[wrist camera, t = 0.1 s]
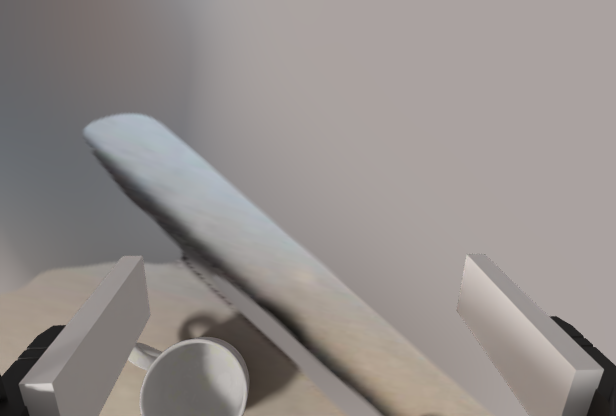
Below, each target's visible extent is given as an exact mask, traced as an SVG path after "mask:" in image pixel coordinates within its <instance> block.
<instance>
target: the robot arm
mask: <svg viewBox="0 0 616 416" xmlns="http://www.w3.org/2000/svg"><path fill="white" fill-rule="evenodd" d="M457 312H458V313H459V315H460V316H461V318H462V319H463V321H465V323H466V325H467V326H468V328H469V329H470V331H471V332H472V334H473V335H474V336H475V338H476V339H477V341H478V342H479V344H480V345H481V346H482V348H483V349H484V351H485V352H486V354H487V355H488V357H489V358H490V359H491V361H492V363H493V364H494V365H495V367H496V368H497V370H498V371H499V373H500V374H501V375H502V377H503V378H504V380H505V381H506V383H507V384H508V386H509V387H510V389H511V390H512V392H513V393H514V394H515V396H516V397H517V399H518V400H519V402H520V403H521V405H522V406H523V407H524V409H525V410H526V412H527V413H528V415H529V416H616V366H615V365H614V364H613V363H612V362H611V361H610V360H609V359H608V358H606V357H605V356H604V355H603V354H602V353H601V352H600V351H599V350H598V349H597V348H596V347H593V345H592V344H591V343H590V342H589V341H588V340H587V339H586V338H584V337H583V335H582V334H581V333H579V332H578V331H577V330H576V329H575V328H574V327H573V326H572V325H570V324H568V323H567V322H565V321H563V320H561V319H560V318H558V317H556V316H555V317H554V316H552V317H549V316H548V315H547V314H546V313H545V312H544V311H543V310H542V309H541V308H540V307H539V306H538V305H537V304H536V303H535V302H534V301H533V300H531V298H530V297H529V296H527V295H526V294H525V293H524V292H523V291H522V290H521V289H520V288H519V287H518V286H517V285H516V284H515V283H514V282H513V281H512V280H511V279H510V278H509V277H508V276H507V275H506V274H505V273H503V271H502V270H501V269H500V268H498V267H497V266H496V265H495V264H494V263H493V262H492V261H491V260H490V259H489V258H488V257H487V256H486V255H485V254H467V256H466V261H465V267H464V272H463V278H462V283H461V289H460V294H459V300H458V306H457ZM149 317H150V308H149V300H148V293H147V285H146V278H145V270H144V263H143V256H122V257H121V259H120V260H119V261H118V262H117V264H116V265H115V266H114V267H113V269H112V270H111V271H110V272H109V273H108V275H107V276H106V277H105V278H104V280H103V281H102V282H101V283H100V285H99V286H98V287H97V288H96V289H95V291H94V292H93V293H92V294H91V296H90V297H89V298H88V299H87V301H86V302H85V303H84V304H83V305H82V307H81V308H80V309H79V310H78V312H77V313H76V314H75V315H74V317H73V318H72V319H71V320H70V321H69V323H68V324H67V325H58V326H52V327H50V328H49V329H47V330H46V331H44V332H43V333H41V334H40V335H38V336H37V337H36V338H35V339H34V341H33V342H32V343H31V344H30V345H29V346H28V347H27V350H25V351H24V352H23V353H22V354H21V355H20V356H19V357H18V360H17V361H15V362H14V363H13V364H12V365H11V366H10V368H9V369H8V370H7V371H6V372H5V373H4V374H3V376H2V377H1V375H0V416H99V414H100V412H101V410H102V408H103V406H104V404H105V402H106V400H107V398H108V396H109V394H110V392H111V391H112V389H113V387H114V385H115V383H116V381H117V379H118V377H119V375H120V373H121V371H122V369H123V367H124V365H125V363H126V361H127V360H128V358H129V356H130V354H131V352H132V350H133V348H134V346H135V344H136V342H137V340H138V338H139V336H140V334H141V332H142V331H143V329H144V327H145V325H146V323H147V321H148V319H149Z"/></svg>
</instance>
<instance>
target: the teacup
mask: <svg viewBox="0 0 616 416" xmlns="http://www.w3.org/2000/svg"><path fill="white" fill-rule="evenodd" d="M128 360H129V361H130V362H131V363H133V364H134V365H136V366H137V367H139V368H141V369H144V370H147V373H146V375H145V378H144V381H143V384H142V387H141V392H140V412H141V416H243V414H244V411H245V408H246V404H247V398H248V393H249V373H248V369H247V366H246V363H245V361H244V359H243V357H242V356H241V354H240V353H239V352H238V351H237V350H236V349H235V348H234V347H233V346H232V345H231V344H229V343H227V342H226V341H224V340H221V339H218V338H214V337H198V338H193V339H189V340H184V341H181V342H178V343H176V344H174V345H172V346H170V347H169V348H168V349H166V350H165V351H164V352H161V351H159V350H157V349H155V348H152V347H150V346H148V345H145V344H142V343H136V344H135V346H134V348H133V350H132V352H131V354H130V356H129V358H128Z"/></svg>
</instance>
